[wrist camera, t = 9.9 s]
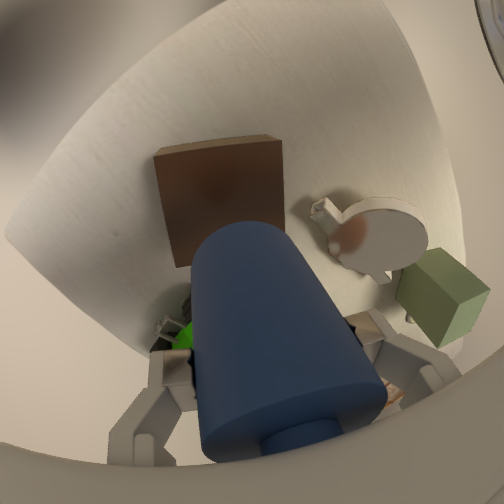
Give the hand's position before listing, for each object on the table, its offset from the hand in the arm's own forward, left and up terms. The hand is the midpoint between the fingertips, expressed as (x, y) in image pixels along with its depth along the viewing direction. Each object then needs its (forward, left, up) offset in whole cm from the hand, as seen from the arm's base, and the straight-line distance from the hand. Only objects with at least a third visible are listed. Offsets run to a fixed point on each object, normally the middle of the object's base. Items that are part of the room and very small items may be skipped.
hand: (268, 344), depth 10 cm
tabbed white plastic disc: (+6, +16, -20) cm, 26 cm away
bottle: (0, 0, -5) cm, 5 cm away
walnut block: (0, 0, -20) cm, 20 cm away
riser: (+16, +29, -20) cm, 38 cm away
